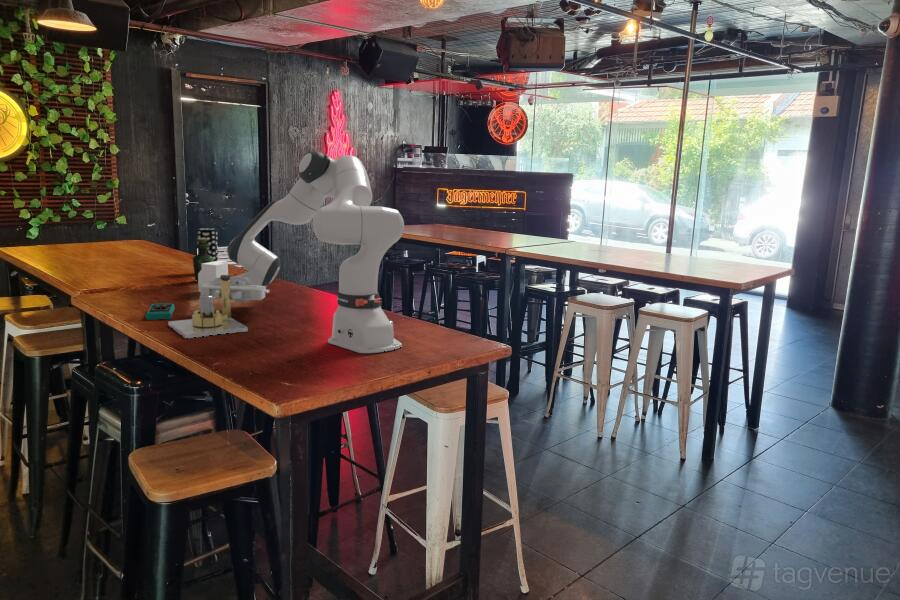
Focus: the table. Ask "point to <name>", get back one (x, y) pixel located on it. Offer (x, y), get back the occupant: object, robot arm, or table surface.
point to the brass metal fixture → (217, 317)
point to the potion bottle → (201, 256)
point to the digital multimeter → (160, 311)
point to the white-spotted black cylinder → (209, 241)
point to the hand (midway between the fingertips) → (223, 296)
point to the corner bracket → (212, 271)
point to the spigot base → (193, 331)
